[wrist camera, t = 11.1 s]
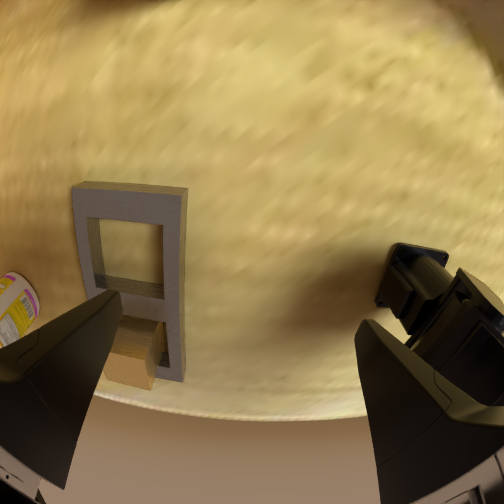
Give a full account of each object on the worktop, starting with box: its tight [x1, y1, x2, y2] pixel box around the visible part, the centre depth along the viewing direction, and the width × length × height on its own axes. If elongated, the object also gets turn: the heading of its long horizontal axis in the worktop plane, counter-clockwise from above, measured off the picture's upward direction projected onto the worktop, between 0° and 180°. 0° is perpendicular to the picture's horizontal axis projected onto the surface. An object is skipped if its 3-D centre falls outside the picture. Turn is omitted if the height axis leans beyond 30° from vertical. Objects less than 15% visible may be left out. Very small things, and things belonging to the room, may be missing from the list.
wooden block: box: [103, 314, 165, 390], centre depth 23 cm, size 4×4×6 cm
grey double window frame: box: [72, 181, 188, 382], centre depth 23 cm, size 9×20×2 cm, turn 172°
